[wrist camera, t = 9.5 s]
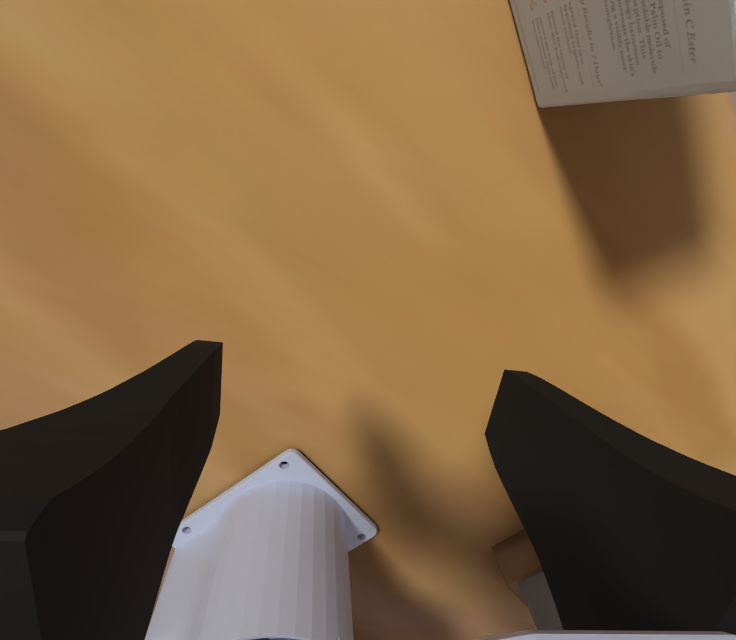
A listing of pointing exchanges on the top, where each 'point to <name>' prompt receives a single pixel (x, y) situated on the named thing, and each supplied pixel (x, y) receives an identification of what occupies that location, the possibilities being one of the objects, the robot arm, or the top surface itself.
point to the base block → (517, 561)
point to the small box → (626, 48)
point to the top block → (541, 602)
